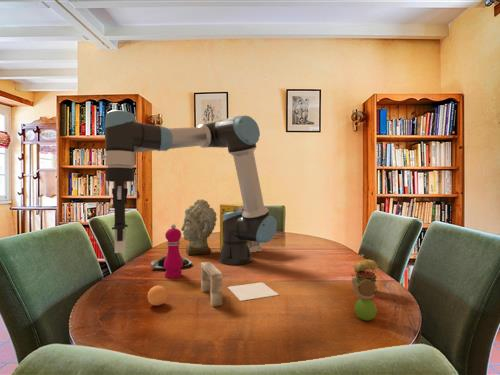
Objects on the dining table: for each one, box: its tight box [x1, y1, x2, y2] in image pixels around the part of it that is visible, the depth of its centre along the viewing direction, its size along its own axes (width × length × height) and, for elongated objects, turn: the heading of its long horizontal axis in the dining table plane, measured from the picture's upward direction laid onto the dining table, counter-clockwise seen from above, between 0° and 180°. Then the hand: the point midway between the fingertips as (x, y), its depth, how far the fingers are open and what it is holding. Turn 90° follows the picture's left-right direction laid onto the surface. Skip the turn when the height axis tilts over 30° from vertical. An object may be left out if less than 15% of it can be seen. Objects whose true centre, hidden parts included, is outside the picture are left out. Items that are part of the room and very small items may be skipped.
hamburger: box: [353, 253, 379, 294], centre depth 97 cm, size 8×7×12 cm
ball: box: [147, 285, 168, 307], centre depth 86 cm, size 6×6×6 cm
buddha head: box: [180, 199, 218, 256], centre depth 155 cm, size 17×19×28 cm
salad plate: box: [150, 254, 193, 272], centre depth 131 cm, size 19×18×5 cm
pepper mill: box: [164, 224, 183, 279], centre depth 114 cm, size 7×7×20 cm
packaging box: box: [219, 203, 263, 253], centre depth 159 cm, size 16×16×25 cm
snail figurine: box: [351, 273, 378, 321], centre depth 76 cm, size 5×6×12 cm
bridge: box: [200, 261, 223, 307], centre depth 92 cm, size 3×14×9 cm, turn 22°
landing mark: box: [227, 281, 280, 302], centre depth 97 cm, size 13×13×1 cm
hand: (120, 251), depth 82 cm, fingers closed
